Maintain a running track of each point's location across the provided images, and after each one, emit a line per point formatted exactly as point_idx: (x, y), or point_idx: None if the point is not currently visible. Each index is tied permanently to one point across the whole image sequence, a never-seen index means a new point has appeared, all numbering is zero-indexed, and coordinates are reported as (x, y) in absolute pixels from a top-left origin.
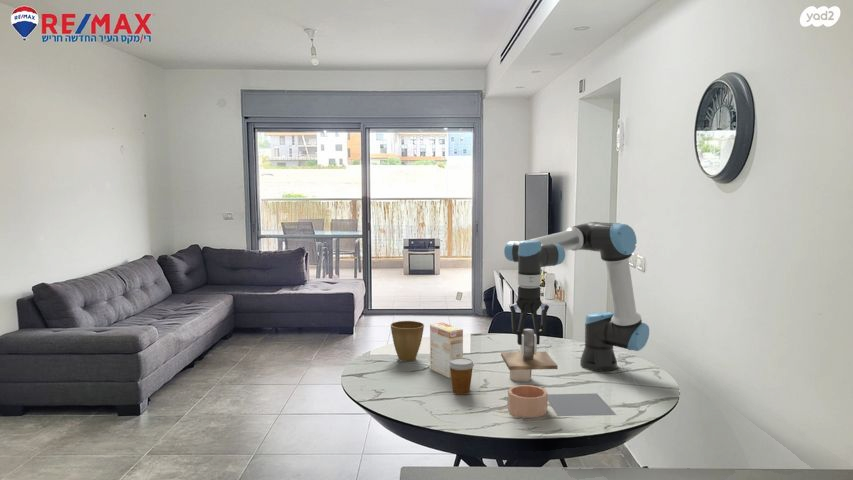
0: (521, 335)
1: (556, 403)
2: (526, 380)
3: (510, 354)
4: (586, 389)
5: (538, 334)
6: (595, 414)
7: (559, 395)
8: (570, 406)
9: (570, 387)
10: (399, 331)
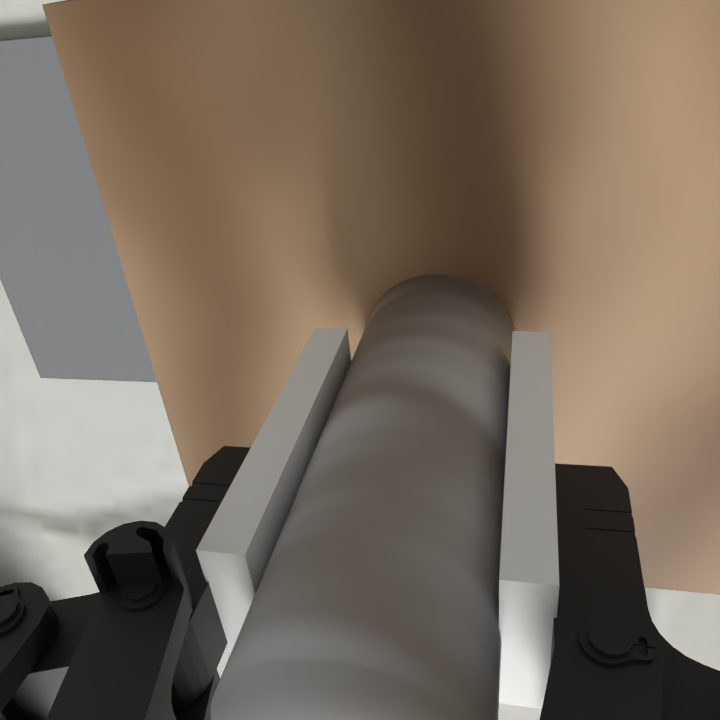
0: (573, 609)
1: None
2: None
3: (642, 514)
4: (100, 444)
5: (135, 559)
6: (29, 51)
7: None
8: None
9: (178, 476)
10: None
